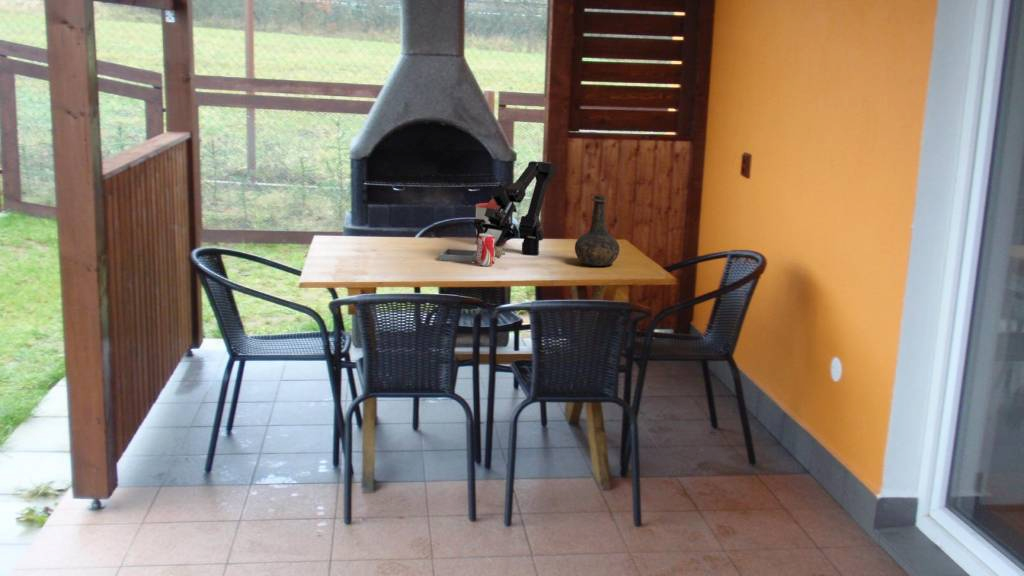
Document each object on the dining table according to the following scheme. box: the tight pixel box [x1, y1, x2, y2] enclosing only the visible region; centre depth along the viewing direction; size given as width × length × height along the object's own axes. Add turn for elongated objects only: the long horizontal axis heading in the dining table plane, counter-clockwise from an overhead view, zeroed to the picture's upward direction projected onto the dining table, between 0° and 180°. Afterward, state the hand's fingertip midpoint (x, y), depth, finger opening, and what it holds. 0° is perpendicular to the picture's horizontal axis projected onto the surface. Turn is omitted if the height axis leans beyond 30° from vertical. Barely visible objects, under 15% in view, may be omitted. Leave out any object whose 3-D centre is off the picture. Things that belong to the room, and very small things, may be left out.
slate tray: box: [439, 248, 477, 263], centre depth 398 cm, size 13×13×2 cm
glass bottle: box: [574, 193, 620, 267], centre depth 395 cm, size 18×18×28 cm
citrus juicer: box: [475, 198, 512, 247], centre depth 431 cm, size 16×17×20 cm
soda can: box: [476, 233, 496, 267], centre depth 387 cm, size 7×7×12 cm
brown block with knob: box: [495, 247, 506, 259], centre depth 408 cm, size 8×9×3 cm
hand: (486, 244), depth 387 cm, fingers open, 9 cm apart
